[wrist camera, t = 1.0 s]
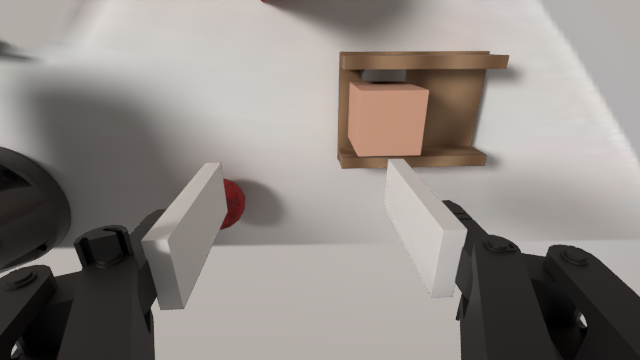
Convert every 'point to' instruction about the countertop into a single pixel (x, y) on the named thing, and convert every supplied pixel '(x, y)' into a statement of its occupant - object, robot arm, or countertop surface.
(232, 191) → the onion
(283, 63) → the countertop surface
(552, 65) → the countertop surface
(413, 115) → the block
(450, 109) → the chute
